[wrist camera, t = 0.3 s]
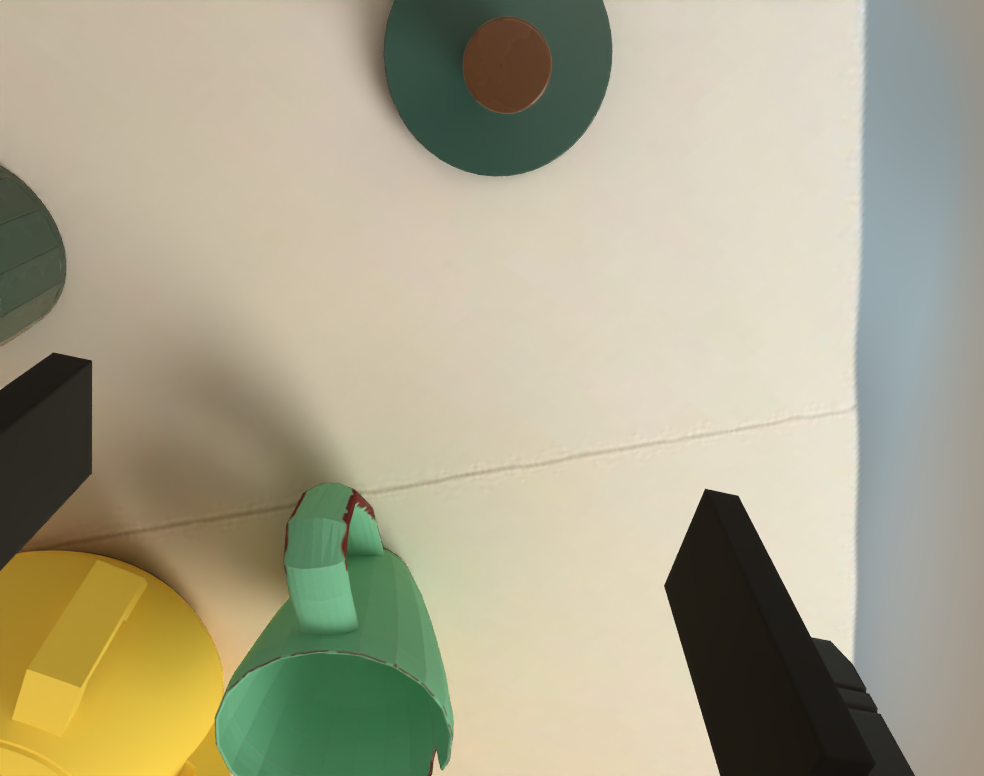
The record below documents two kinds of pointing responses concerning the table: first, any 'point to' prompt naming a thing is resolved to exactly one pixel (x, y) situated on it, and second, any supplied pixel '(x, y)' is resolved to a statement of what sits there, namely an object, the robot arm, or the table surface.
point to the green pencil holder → (26, 258)
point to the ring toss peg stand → (498, 77)
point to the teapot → (103, 672)
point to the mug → (339, 659)
